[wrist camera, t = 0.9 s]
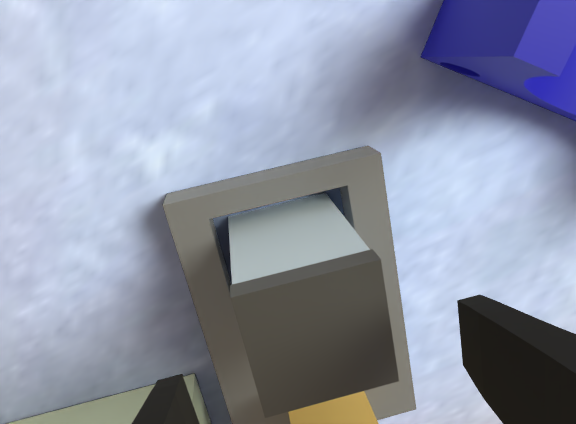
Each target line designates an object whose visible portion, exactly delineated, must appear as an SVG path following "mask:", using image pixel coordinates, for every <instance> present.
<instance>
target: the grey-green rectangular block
mask: <svg viewBox="0 0 576 424" xmlns="http://www.w3.org/2000/svg"><path fill="white" fill-rule="evenodd" d="M228 224H229V241H230V258H231V275H232V285H230V297H231V301H232V305H233V308H234V312H235V315H236V319H237V322H238V326H239V329H240V333H241V336H242V340H243V343H244V347H245V350H246V354H247V357H248V361H249V364H250V368H251V371H252V375H253V378H254V381H255V385H256V388H257V392H258V395H259V399H260V402H261V406H262V409H263V413H264V416H265V418H267V417H271V416H275V415H278V414H282V413H286V412H289V411H293V410H297V409H300V408H304V407H307V406H311V405H315V404H318V403H322V402H326V401H329V400H333V399H337V398H340V397H344V396H347V395H351V394H355V393H358V392H362V391H366V390H369V389H373V388H377V387H380V386H384V385H387V384H391V383H395V382H398V381H399V376H398V369H397V363H396V356H395V349H394V343H393V336H392V329H391V323H390V316H389V310H388V303H387V296H386V290H385V283H384V276H383V270H382V263H381V259H380V257H379V256H378V255H377V254H376V252H375V251H374V250H373V249H371V250H370V249H369V248H368V246H367V245H366V244H365V242H364V241H363V240H362V239H361V237H360V236H359V235H358V234H357V232H356V231H355V230H354V228H353V227H352V226H351V225H350V223H349V222H348V221H347V220H346V218H345V217H344V216H343V215H342V213H341V212H340V211H339V209H338V208H337V207H336V206H335V204H334V203H333V202H332V201H331V199H330V198H329V197H328V195H327V194H326V193H323V194H319V195H314V196H310V197H306V198H302V199H298V200H294V201H290V202H286V203H282V204H278V205H273V206H269V207H265V208H261V209H257V210H253V211H249V212H245V213H241V214H237V215H232V216H228Z"/></svg>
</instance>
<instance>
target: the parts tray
mask: <svg viewBox="0 0 576 424" xmlns="http://www.w3.org/2000/svg"><path fill="white" fill-rule="evenodd" d="M183 378H184V381H185V384H186V386H187V389H188V392H189V395H190V398H191V401H192V403H193V406H194V409H195V412H196V415H197V418H198V420H199V423H200V424H211V421H210V418H209V415H208V412H207V409H206V406H205V403H204V400H203V397H202V394H201V391H200V388H199V385H198V382H197V379H196V377H195V374H191V375H188V376H184V377H183ZM154 386H155V384H154V385H150V386H146V387H142V388H139V389H135V390H131V391H127V392H124V393H120V394H116V395H112V396H108V397H105V398H101V399H97V400H93V401H90V402H86V403H82V404H78V405H75V406H71V407H67V408H63V409H60V410H56V411H52V412H48V413H45V414H41V415H37V416H33V417H29V418H26V419H22V420H18V421H14V422H11V423H7V424H132V422H133V420H134V419H135V417H136V415H137V414H138V412H139V410H140V409H141V407H142V405H143V404H144V402H145V400H146V399H147V397H148V395H149V394H150V392H151V390H152V389H153V387H154Z"/></svg>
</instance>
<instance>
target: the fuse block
mask: <svg viewBox="0 0 576 424" xmlns="http://www.w3.org/2000/svg"><path fill="white" fill-rule="evenodd" d="M339 187H340V192H341V198H342V203H343V209H344V215H345V218H346V220H347V221H348V222H349V223H350V225H351V226H352V227H353V228H354V230H355V231H356V232H357V234H358V235H359V236H360V237H361V239H362V240H363V241H364V242H365V244H366V245H367V246H368V248H369V249H370V250H371V249H373V250H374V251H375V252H376V254H377V255H378V256H379V257H380V259H381V263H382V270H383V276H384V283H385V290H386V296H387V303H388V310H389V316H390V323H391V329H392V336H393V343H394V349H395V356H396V363H397V369H398V376H399V381H398V382H395V383H391V384H387V385H384V386H380V387H377V388H373V389H369V390H366V391H362V392H358V393H355V394H351V395H347V396H344V397H340V398H337V399H333V400H329V401H326V402H322V403H318V404H315V405H311V406H307V407H304V408H300V409H297V410H293V411H289V412H286V413H282V414H278V415H275V416H271V417H267V418H265V416H264V413H263V409H262V406H261V402H260V399H259V395H258V392H257V388H256V385H255V381H254V378H253V375H252V371H251V368H250V364H249V361H248V357H247V354H246V350H245V347H244V343H243V340H242V336H241V333H240V329H239V326H238V322H237V319H236V315H235V312H234V308H233V305H232V301H231V297H230V285H231V282H230V278H229V275H228V271H227V268H226V264H225V261H224V257H223V253H222V250H221V246H220V243H219V239H218V236H217V232H216V229H215V225H214V222H213V218H216V217H220V216H224V215H228V214H232V213H236V212H240V211H244V210H249V209H253V208H257V207H261V206H265V205H269V204H273V203H277V202H281V201H286V200H290V199H294V198H298V197H302V196H306V195H310V194H314V193H318V192H323V191H327V190H331V189H335V188H339ZM163 208H164V211H165V215H166V218H167V221H168V224H169V227H170V230H171V233H172V236H173V240H174V243H175V246H176V249H177V252H178V255H179V258H180V262H181V265H182V268H183V271H184V274H185V277H186V280H187V283H188V287H189V290H190V293H191V296H192V299H193V302H194V305H195V308H196V312H197V315H198V318H199V321H200V324H201V327H202V330H203V334H204V337H205V340H206V343H207V346H208V349H209V352H210V355H211V359H212V362H213V365H214V368H215V371H216V374H217V377H218V381H219V384H220V387H221V390H222V393H223V396H224V399H225V402H226V406H227V409H228V412H229V415H230V418H231V421H232V424H378V422H377V420H379V419H383V418H387V417H390V416H394V415H397V414H401V413H404V412H408V411H412V410H415V409H416V404H415V396H414V389H413V382H412V375H411V368H410V360H409V353H408V346H407V339H406V331H405V324H404V317H403V310H402V302H401V295H400V288H399V281H398V274H397V266H396V259H395V252H394V245H393V237H392V230H391V223H390V216H389V209H388V201H387V194H386V187H385V180H384V172H383V165H382V158H381V153H380V152H378V151H377V150H375V149H373V148H371V147H370V146H364V147H360V148H356V149H352V150H348V151H343V152H339V153H335V154H331V155H327V156H322V157H318V158H314V159H310V160H306V161H301V162H297V163H293V164H289V165H285V166H280V167H276V168H272V169H268V170H264V171H259V172H255V173H251V174H247V175H243V176H238V177H234V178H230V179H226V180H222V181H217V182H213V183H209V184H205V185H201V186H196V187H192V188H188V189H184V190H180V191H175V192H171V193H167V195H166V198H165V200H164V203H163Z"/></svg>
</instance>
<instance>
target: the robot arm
mask: <svg viewBox="0 0 576 424" xmlns="http://www.w3.org/2000/svg"><path fill="white" fill-rule="evenodd" d="M458 313H459V324H460V336H461V347H462V359H463V366H464V367H465V369H466V371H467V372H468V374H469V376H470V377H471V379H472V381H473V382H474V384H475V386H476V387H477V389H478V390H479V392H480V393H481V395H482V397H483V398H484V400H485V401H486V402H487V403H488V405H489V406H490V407H491V409H492V410H493V411H494V412H495V414H496V415H497V416H498V417H499V419H500V420H501V421H502V423H503V424H576V334H574V333H571V332H569V331H566V330H564V329H561V328H559V327H556V326H554V325H551V324H549V323H546V322H544V321H542V320H539V319H537V318H535V317H532V316H530V315H528V314H525V313H523V312H521V311H518V310H516V309H514V308H511V307H509V306H507V305H504V304H502V303H500V302H497V301H495V300H493V299H490V298H487V297H485V296H482V295H477V296H473V297H469V298H465V299H462V300H458ZM132 424H200V423H199V420H198V418H197V415H196V412H195V409H194V406H193V403H192V401H191V398H190V395H189V392H188V389H187V386H186V384H185V381H184V378H183V375H182V374H180V375H176V376H172V377H169V378H165V379H161V380H158V381H157V382H156V384H155V386H154V387H153V389H152V390H151V392H150V394H149V395H148V397H147V399H146V400H145V402H144V404H143V405H142V407H141V409H140V410H139V412H138V414H137V415H136V417H135V419H134V420H133V422H132Z"/></svg>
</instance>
